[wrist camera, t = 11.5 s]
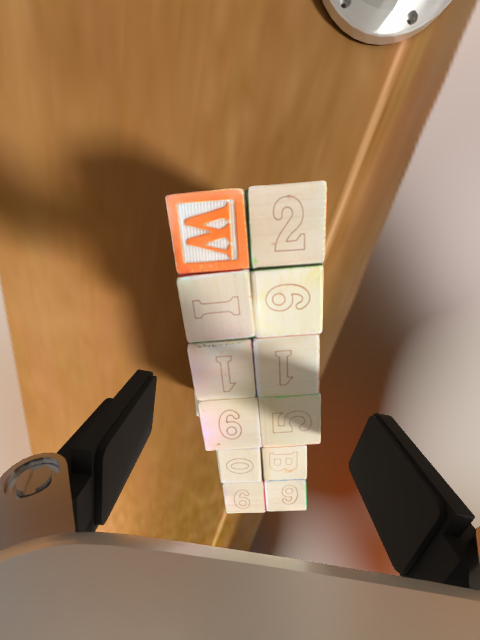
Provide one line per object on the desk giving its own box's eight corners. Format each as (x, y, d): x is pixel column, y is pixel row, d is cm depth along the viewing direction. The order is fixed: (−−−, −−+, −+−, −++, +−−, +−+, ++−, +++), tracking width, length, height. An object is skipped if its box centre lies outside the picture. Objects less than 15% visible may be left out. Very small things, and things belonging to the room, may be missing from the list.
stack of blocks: (286, 423, 26) (319, 565, 15) (230, 426, 27) (218, 567, 15) (281, 217, 20) (331, 174, 9) (209, 223, 21) (160, 190, 9)
